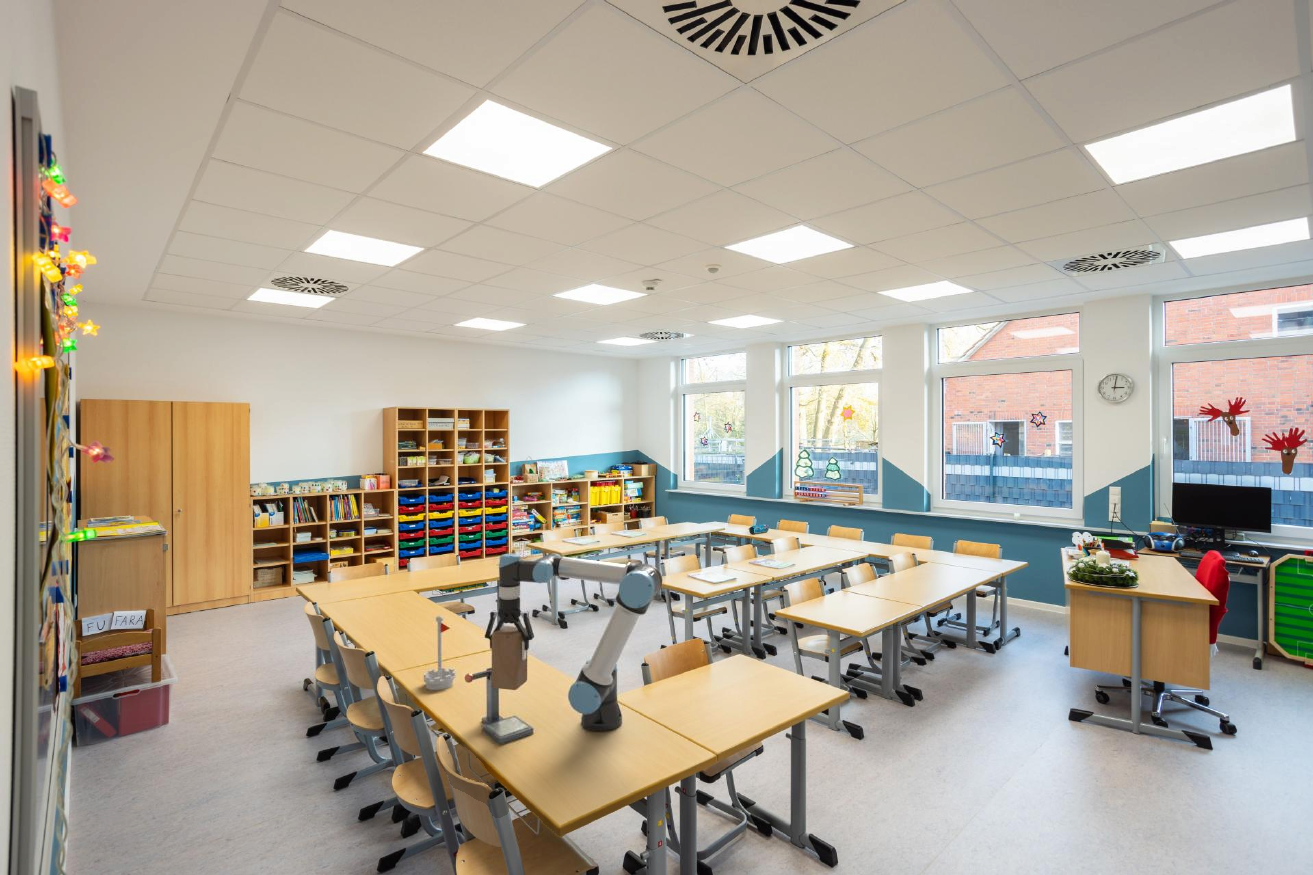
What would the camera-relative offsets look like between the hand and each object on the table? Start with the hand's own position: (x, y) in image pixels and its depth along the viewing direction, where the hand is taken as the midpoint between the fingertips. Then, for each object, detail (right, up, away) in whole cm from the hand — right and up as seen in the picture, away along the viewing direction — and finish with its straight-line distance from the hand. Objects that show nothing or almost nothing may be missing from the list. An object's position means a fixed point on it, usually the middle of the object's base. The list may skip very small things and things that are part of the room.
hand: (509, 658), depth 230 cm
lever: (-9, -12, +7) cm, 16 cm away
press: (-3, -26, +1) cm, 26 cm away
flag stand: (-40, -27, +44) cm, 66 cm away
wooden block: (0, -10, 0) cm, 10 cm away
